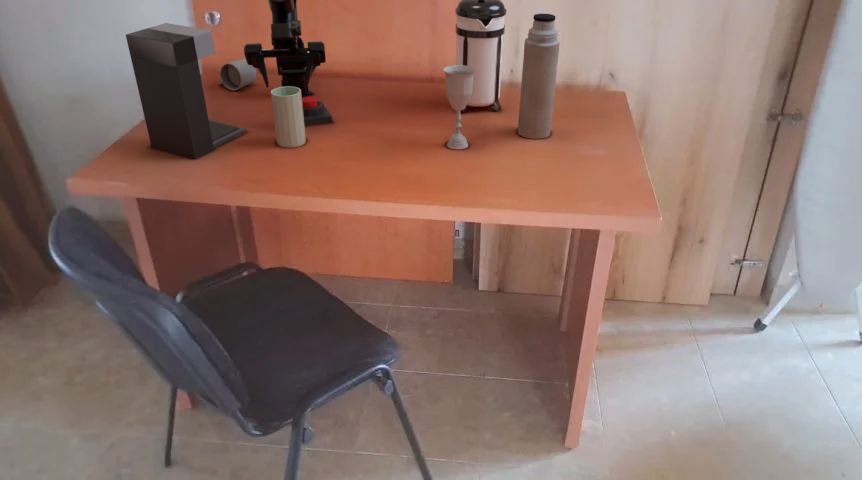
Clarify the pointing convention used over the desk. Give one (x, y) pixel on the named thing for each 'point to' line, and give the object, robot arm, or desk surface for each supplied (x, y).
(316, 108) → the button pad
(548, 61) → the thermos bottle
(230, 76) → the ceramic mug
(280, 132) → the cup
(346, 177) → the desk surface
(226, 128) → the coffee maker
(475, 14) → the coffee press
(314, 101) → the button
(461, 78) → the chalice
